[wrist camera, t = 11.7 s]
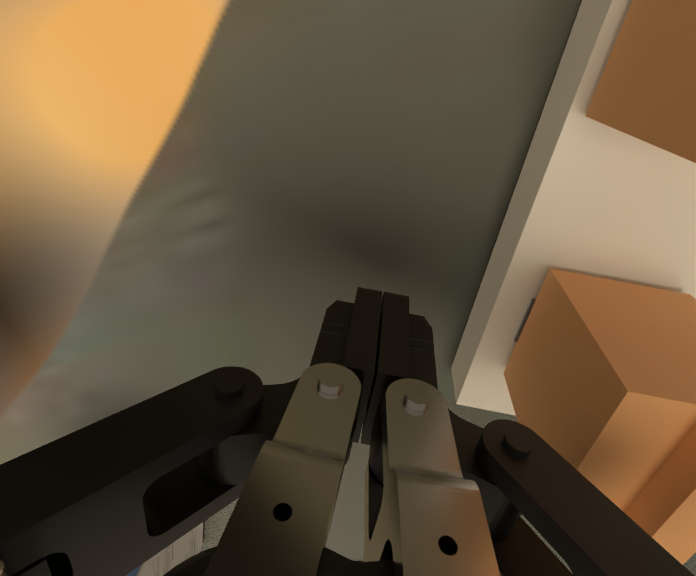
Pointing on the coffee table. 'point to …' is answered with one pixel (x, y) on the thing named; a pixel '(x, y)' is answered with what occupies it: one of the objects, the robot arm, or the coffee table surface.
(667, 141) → the tab
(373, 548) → the robot arm
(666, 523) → the tab
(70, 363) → the coffee table surface
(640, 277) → the switch bank
